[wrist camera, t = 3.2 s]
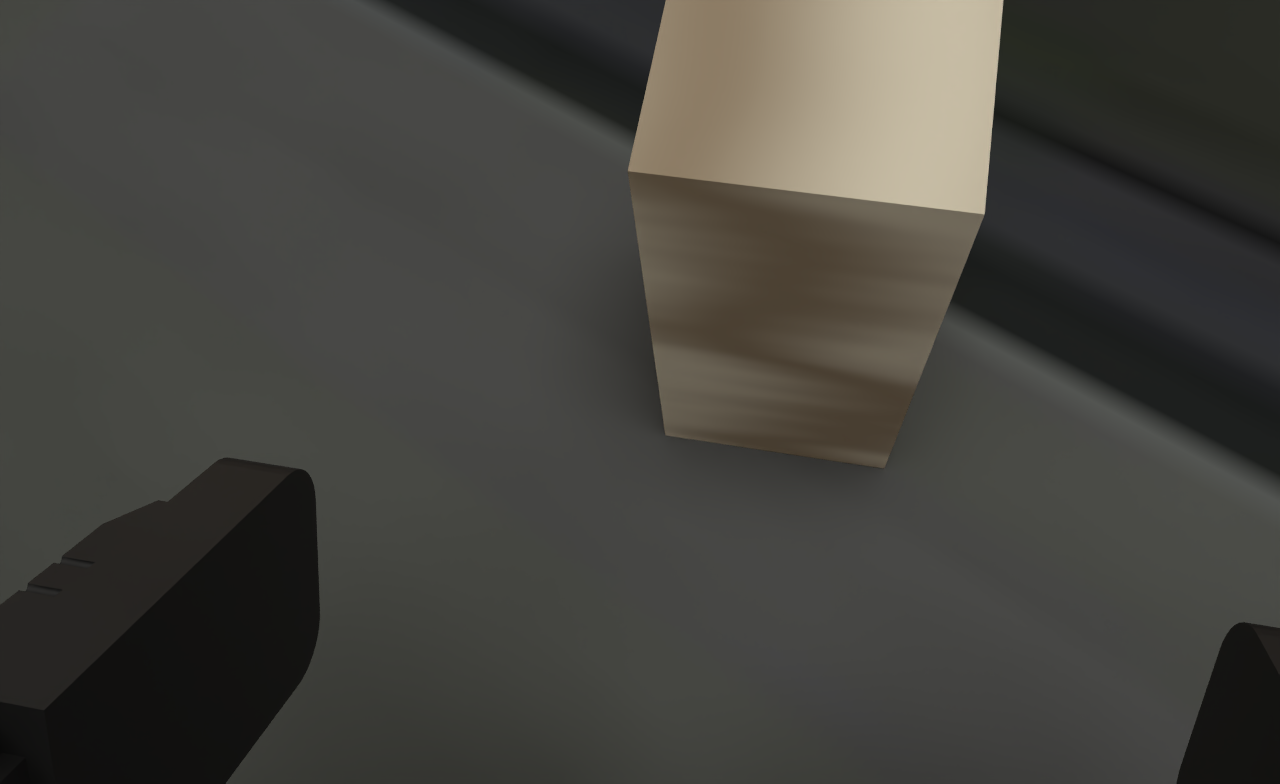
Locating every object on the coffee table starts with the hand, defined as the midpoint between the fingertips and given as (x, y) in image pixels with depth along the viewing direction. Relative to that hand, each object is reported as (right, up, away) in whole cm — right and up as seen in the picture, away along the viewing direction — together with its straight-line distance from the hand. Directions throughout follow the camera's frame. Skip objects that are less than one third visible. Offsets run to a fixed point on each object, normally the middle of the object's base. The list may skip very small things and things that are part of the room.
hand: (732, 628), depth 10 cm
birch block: (+2, +3, +15) cm, 15 cm away
